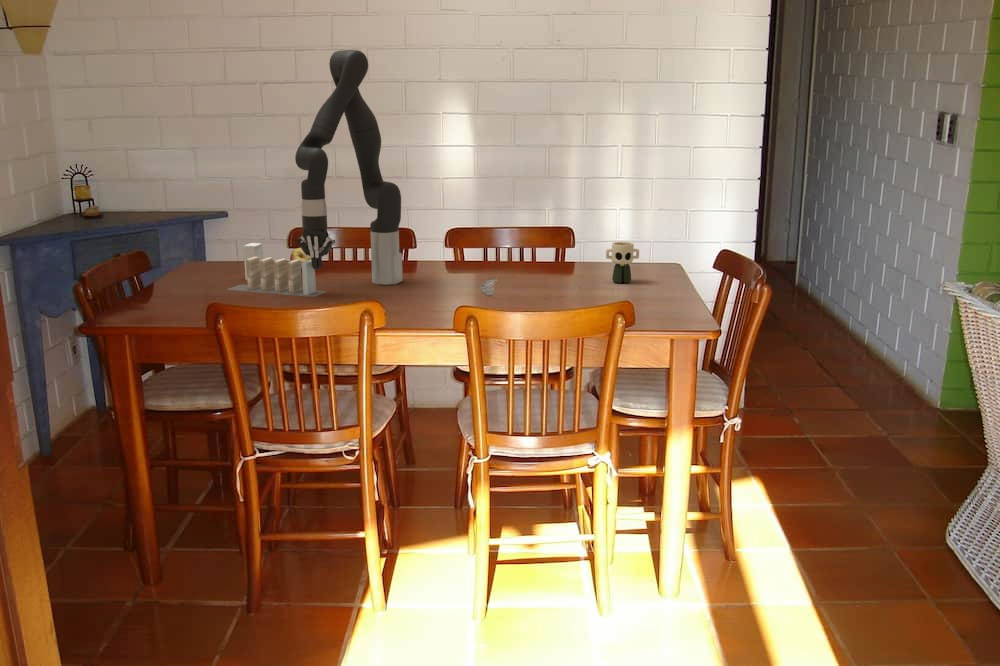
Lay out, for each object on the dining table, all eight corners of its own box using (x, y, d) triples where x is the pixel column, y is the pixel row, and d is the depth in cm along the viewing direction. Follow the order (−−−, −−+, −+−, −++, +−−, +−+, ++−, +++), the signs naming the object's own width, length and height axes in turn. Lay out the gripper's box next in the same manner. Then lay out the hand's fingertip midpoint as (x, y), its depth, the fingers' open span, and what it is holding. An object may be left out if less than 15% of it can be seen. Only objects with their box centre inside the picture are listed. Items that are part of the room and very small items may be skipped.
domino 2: (274, 288, 307) (272, 257, 305) (266, 291, 303) (264, 260, 300) (270, 288, 308) (268, 257, 305) (261, 291, 303) (259, 260, 301)
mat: (327, 292, 303) (327, 291, 303) (314, 298, 296) (314, 296, 296) (240, 285, 313) (240, 284, 313) (226, 290, 306) (226, 289, 306)
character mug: (606, 284, 314) (607, 245, 310) (604, 280, 320) (605, 241, 317) (639, 284, 313) (640, 245, 310) (636, 280, 320) (638, 241, 317)
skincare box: (257, 281, 319) (254, 246, 316) (245, 281, 320) (242, 245, 317) (264, 277, 325) (262, 242, 322) (253, 277, 326) (250, 242, 323)
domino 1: (261, 287, 309) (259, 256, 306) (252, 290, 304) (250, 259, 302) (256, 286, 309) (254, 256, 307) (248, 290, 305) (245, 259, 302)
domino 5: (315, 291, 303) (314, 260, 300) (307, 295, 298) (306, 263, 295) (311, 291, 303) (309, 260, 300) (303, 294, 298) (301, 263, 296)
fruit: (286, 271, 335) (285, 248, 333) (300, 267, 343) (298, 245, 341) (305, 273, 333) (303, 250, 330) (318, 268, 340) (316, 246, 338)
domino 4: (302, 290, 304) (300, 259, 301) (293, 293, 300) (291, 262, 297) (297, 290, 305) (295, 259, 302) (289, 293, 300) (287, 262, 297)
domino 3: (288, 289, 306) (286, 258, 303) (279, 292, 301) (277, 261, 298) (283, 289, 306) (281, 258, 304) (275, 292, 302) (273, 261, 299)
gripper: (288, 214, 291) (292, 270, 296) (327, 216, 287) (330, 272, 292) (301, 210, 298) (304, 265, 303) (339, 212, 294) (341, 268, 299)
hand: (317, 269), depth 297 cm, fingers closed
